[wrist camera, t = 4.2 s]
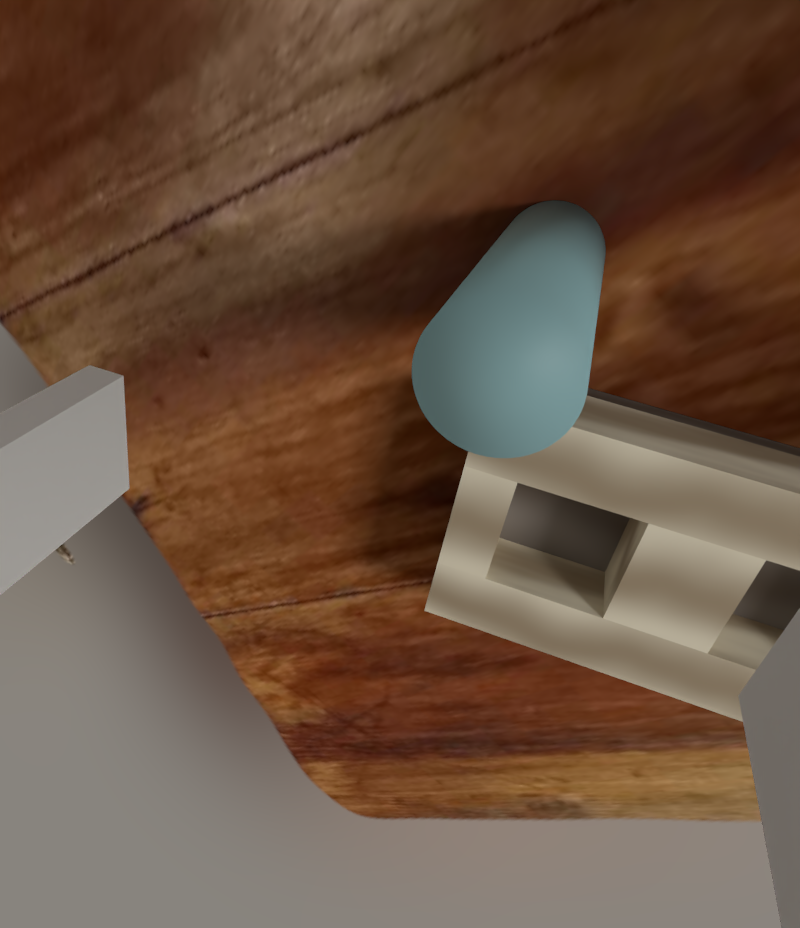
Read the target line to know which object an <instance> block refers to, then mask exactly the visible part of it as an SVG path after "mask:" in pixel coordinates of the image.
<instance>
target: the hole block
mask: <svg viewBox="0 0 800 928" xmlns="http://www.w3.org/2000/svg"><path fill="white" fill-rule="evenodd" d="M799 608H800V448H797V447H793V446H790V445H786V444H783V443H779V442H776V441H772V440H769V439H765V438H762V437H758V436H755V435H751V434H748V433H744V432H741V431H737V430H734V429H730V428H727V427H723V426H720V425H716V424H713V423H709V422H706V421H702V420H699V419H695V418H692V417H688V416H685V415H681V414H678V413H674V412H670V411H667V410H663V409H660V408H656V407H653V406H649V405H646V404H642V403H639V402H635V401H632V400H628V399H625V398H621V397H618V396H614V395H611V394H607V393H604V392H600V391H597V390H593V389H590V388H588V391H587V397H586V400H585V404H584V407H583V409H582V411H581V413H580V415H579V417H578V419H577V420H576V422H575V423H574V425H573V426H572V427H571V428H570V429H569V431H568V432H567V433H566V434H565V435H564V436H563V437H561V438H560V439H559V440H558V441H557V442H555V443H554V444H552V445H551V446H549V447H547V448H545V449H543V450H541V451H539V452H536V453H533V454H530V455H526V456H522V457H516V458H492V457H486V456H482V455H478V454H474V453H472V452H469V451H468V455H467V458H466V462H465V465H464V469H463V473H462V476H461V480H460V483H459V487H458V491H457V494H456V498H455V502H454V505H453V509H452V512H451V516H450V520H449V523H448V527H447V531H446V534H445V538H444V541H443V545H442V549H441V552H440V556H439V560H438V563H437V567H436V570H435V574H434V578H433V581H432V585H431V589H430V592H429V596H428V599H427V603H426V607H425V610H424V611H427V612H430V613H433V614H436V615H439V616H442V617H444V618H447V619H450V620H453V621H456V622H459V623H462V624H464V625H467V626H470V627H473V628H476V629H479V630H482V631H485V632H487V633H490V634H493V635H496V636H499V637H502V638H505V639H507V640H510V641H513V642H516V643H519V644H522V645H525V646H527V647H530V648H533V649H536V650H539V651H542V652H545V653H548V654H550V655H553V656H556V657H559V658H562V659H565V660H568V661H570V662H573V663H576V664H579V665H582V666H585V667H588V668H590V669H593V670H596V671H599V672H602V673H605V674H608V675H610V676H613V677H616V678H619V679H622V680H625V681H628V682H631V683H633V684H636V685H639V686H642V687H645V688H648V689H651V690H653V691H656V692H659V693H662V694H665V695H668V696H671V697H673V698H676V699H679V700H682V701H685V702H688V703H691V704H694V705H696V706H699V707H702V708H705V709H708V710H711V711H714V712H716V713H719V714H722V715H725V716H728V717H731V718H734V719H736V720H739V721H742V722H743V718H742V713H741V708H740V702H739V697H738V695H739V694H740V693H741V691H742V690H743V688H744V687H745V685H746V684H747V683H748V681H749V680H750V678H751V677H752V675H753V674H754V673H755V671H756V670H757V668H758V667H759V665H760V664H761V663H762V661H763V660H764V658H765V657H766V655H767V654H768V653H769V651H770V650H771V648H772V647H773V645H774V644H775V643H776V641H777V640H778V638H779V637H780V635H781V634H782V633H783V631H784V630H785V628H786V627H787V625H788V624H789V623H790V621H791V620H792V618H793V617H794V615H795V614H796V613H797V611H798V610H799Z"/></svg>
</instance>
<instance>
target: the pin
mask: <svg viewBox="0 0 800 928" xmlns="http://www.w3.org/2000/svg"><path fill="white" fill-rule="evenodd" d="M604 262H605V240H604V237H603V233H602V231H601V229H600V227H599V225H598V223H597V222H596V220H595V219H594V218H593V217H592V216H591V215H590V214H589V213H588V212H587V211H586V210H584V209H583V208H581V207H579V206H577V205H575V204H573V203H570V202H566V201H558V200H552V201H544V202H540V203H537V204H535V205H532V206H530V207H528V208H527V209H525V210H524V211H522V212H521V213H520V214H519V215H518V216H516V217H515V218H514V220H513V221H512V222H511V223H510V225H509V226H508V227H507V228H506V229H505V231H504V232H503V233H502V234H501V236H500V237H499V238H498V239H497V240H496V242H495V243H494V244H493V245H492V247H491V248H490V249H489V250H488V252H487V253H486V254H485V255H484V256H483V258H482V259H481V260H480V261H479V263H478V264H477V265H476V266H475V268H474V269H473V270H472V271H471V272H470V274H469V275H468V276H467V277H466V279H465V280H464V281H463V282H462V283H461V285H460V286H459V287H458V288H457V290H456V291H455V292H454V293H453V295H452V296H451V297H450V298H449V299H448V301H447V302H446V303H445V304H444V306H443V307H442V308H441V309H440V311H439V312H438V313H437V314H436V315H435V317H434V318H433V319H432V320H431V322H430V323H429V324H428V325H427V327H426V328H425V330H424V331H423V333H422V334H421V336H420V338H419V341H418V343H417V345H416V348H415V352H414V356H413V362H412V381H413V388H414V392H415V395H416V399H417V401H418V403H419V406H420V408H421V410H422V411H423V413H424V415H425V417H426V418H427V419H428V421H429V422H430V423H431V425H432V426H433V427H434V428H435V429H436V430H437V431H438V432H439V433H440V434H441V435H442V436H444V437H445V438H446V439H447V440H449V441H450V442H452V443H453V444H455V445H456V446H458V447H460V448H462V449H464V450H466V451H469V452H472V453H474V454H478V455H482V456H486V457H492V458H516V457H522V456H526V455H530V454H533V453H536V452H539V451H541V450H543V449H545V448H547V447H549V446H551V445H552V444H554V443H555V442H557V441H558V440H559V439H560V438H561V437H563V436H564V435H565V434H566V433H567V432H568V431H569V429H570V428H571V427H572V426H573V425H574V423H575V422H576V420H577V419H578V417H579V415H580V413H581V411H582V409H583V407H584V404H585V400H586V397H587V391H588V384H589V376H590V369H591V361H592V353H593V346H594V338H595V331H596V323H597V315H598V308H599V300H600V292H601V285H602V277H603V270H604Z"/></svg>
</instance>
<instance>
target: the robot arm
mask: <svg viewBox="0 0 800 928" xmlns="http://www.w3.org/2000/svg"><path fill="white" fill-rule="evenodd" d="M128 489H129V472H128V453H127V434H126V415H125V395H124V376H122V375H119V374H116V373H113V372H110V371H106V370H103V369H100V368H97V367H94V366H91V365H89V366H87V367H85V368H83V369H81V370H80V371H78V372H76V373H74V374H72V375H70V376H68V377H66V378H65V379H63V380H61V381H59V382H57V383H55V384H53V385H51V386H50V387H48V388H46V389H44V390H42V391H40V392H39V393H36V394H35V395H33V396H31V397H29V398H27V399H25V400H24V401H22V402H20V403H18V404H16V405H14V406H12V407H10V408H8V409H7V410H5V411H3V412H1V413H0V595H1V594H2V593H3V592H5V591H6V590H7V589H8V588H10V587H11V586H12V585H13V584H14V583H15V582H17V581H18V580H19V579H20V578H22V577H23V576H24V575H25V574H27V573H28V572H29V571H30V570H31V569H33V568H34V567H35V566H36V565H37V564H39V563H40V562H41V561H42V560H43V559H45V558H46V557H47V556H48V555H50V554H51V553H52V552H53V551H54V550H56V549H57V548H58V547H59V546H60V545H62V544H63V543H64V542H65V541H66V540H67V539H69V538H70V537H71V536H72V535H74V533H76V532H77V531H78V530H80V529H81V528H82V527H83V526H85V525H86V524H87V523H88V522H89V521H91V520H92V519H93V518H94V517H95V516H97V515H98V514H99V513H100V512H101V511H103V510H104V509H105V508H106V507H108V505H110V504H111V503H112V502H113V501H115V500H116V499H117V498H118V497H120V496H121V495H122V494H123V493H124V492H126V491H127V490H128ZM738 697H739V702H740V708H741V713H742V718H743V724H744V729H745V734H746V740H747V745H748V750H749V756H750V761H751V767H752V772H753V777H754V783H755V788H756V793H757V799H758V804H759V809H760V815H761V820H762V825H763V831H764V836H765V841H766V847H767V852H768V858H769V862H770V868H771V874H772V879H773V884H774V890H775V895H776V900H777V906H778V911H779V916H780V922H781V927H782V928H800V608H799V610H798V611H797V613H796V614H795V615H794V617H793V618H792V620H791V621H790V623H789V624H788V625H787V627H786V628H785V630H784V631H783V633H782V634H781V635H780V637H779V638H778V640H777V641H776V643H775V644H774V645H773V647H772V648H771V650H770V651H769V653H768V654H767V655H766V657H765V658H764V660H763V661H762V663H761V664H760V665H759V667H758V668H757V670H756V671H755V673H754V674H753V675H752V677H751V678H750V680H749V681H748V683H747V684H746V685H745V687H744V688H743V690H742V691H741V693H740V694H739V695H738Z"/></svg>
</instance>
